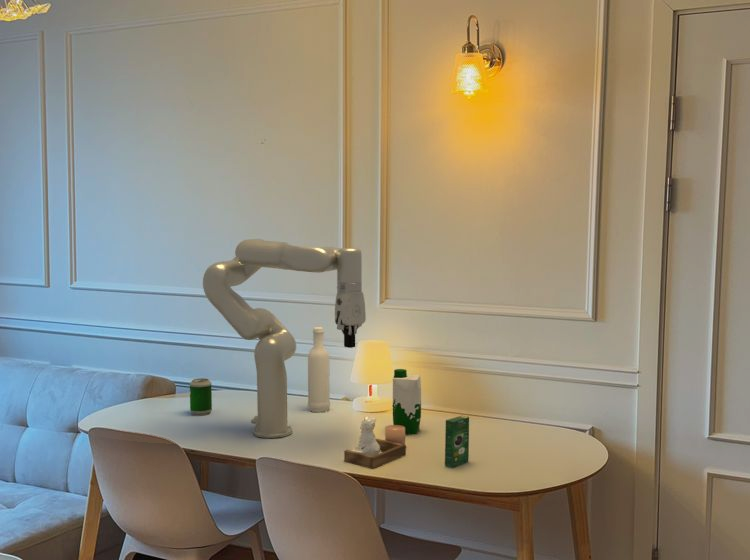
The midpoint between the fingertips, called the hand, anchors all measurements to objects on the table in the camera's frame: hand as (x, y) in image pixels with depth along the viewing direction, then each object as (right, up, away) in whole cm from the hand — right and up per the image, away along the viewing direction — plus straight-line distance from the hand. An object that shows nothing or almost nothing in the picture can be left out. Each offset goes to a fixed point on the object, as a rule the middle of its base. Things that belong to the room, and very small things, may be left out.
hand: (349, 346), depth 231 cm
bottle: (-12, -26, +38) cm, 48 cm away
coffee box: (+31, -31, -22) cm, 49 cm away
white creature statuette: (+5, -31, -14) cm, 34 cm away
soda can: (-54, -27, +34) cm, 69 cm away
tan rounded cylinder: (+14, -30, -6) cm, 33 cm away
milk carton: (+18, -29, +11) cm, 36 cm away
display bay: (+8, -30, -16) cm, 35 cm away
